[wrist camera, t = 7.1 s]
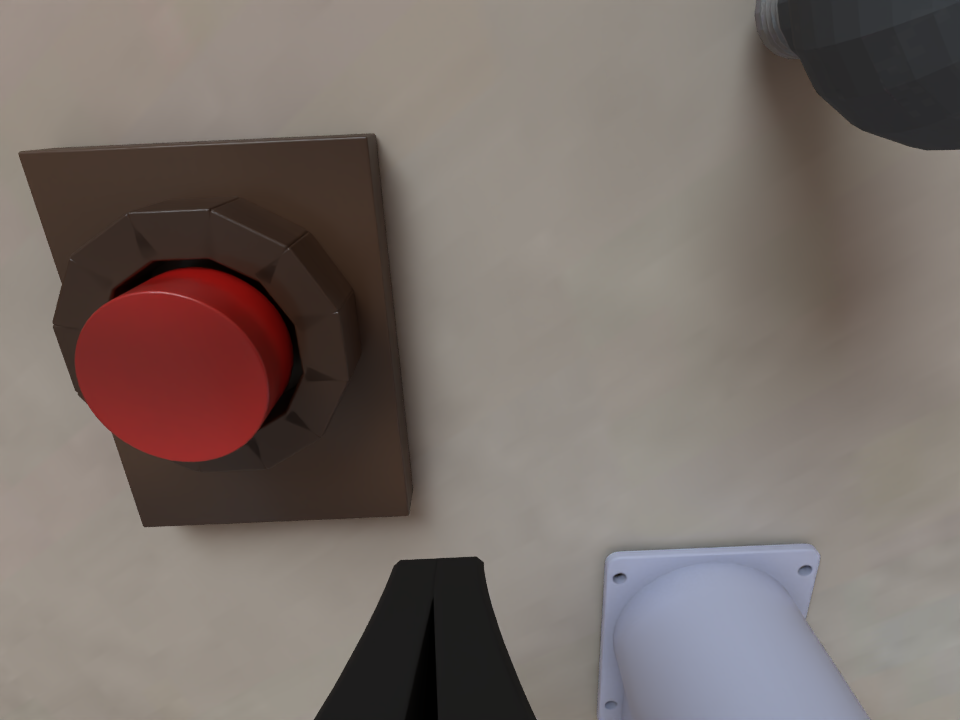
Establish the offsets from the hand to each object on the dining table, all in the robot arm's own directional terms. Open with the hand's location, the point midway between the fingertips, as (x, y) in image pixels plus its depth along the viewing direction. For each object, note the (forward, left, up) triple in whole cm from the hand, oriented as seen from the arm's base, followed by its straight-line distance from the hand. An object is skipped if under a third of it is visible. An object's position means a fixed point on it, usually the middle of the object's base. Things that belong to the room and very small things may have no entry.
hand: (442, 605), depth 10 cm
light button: (+2, +6, -7) cm, 10 cm away
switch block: (+1, +6, -10) cm, 12 cm away
